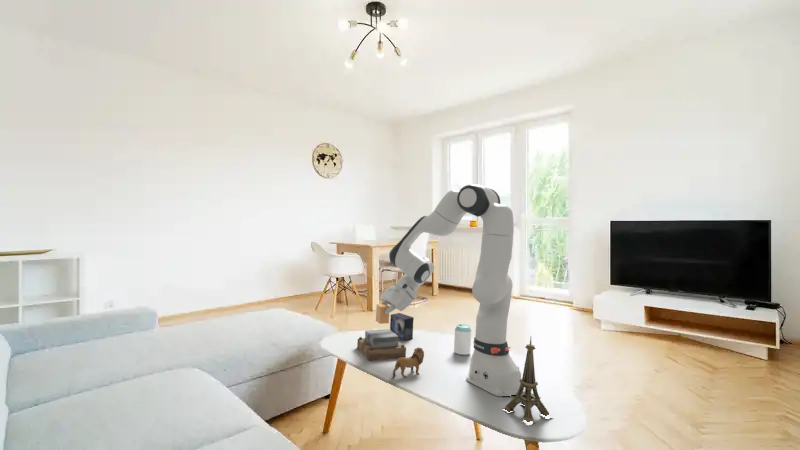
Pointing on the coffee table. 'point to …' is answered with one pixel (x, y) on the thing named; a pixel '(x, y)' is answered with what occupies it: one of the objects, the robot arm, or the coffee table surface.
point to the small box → (402, 326)
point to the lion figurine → (410, 362)
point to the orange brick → (382, 314)
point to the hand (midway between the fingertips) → (382, 311)
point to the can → (462, 339)
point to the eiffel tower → (528, 389)
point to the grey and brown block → (381, 345)
